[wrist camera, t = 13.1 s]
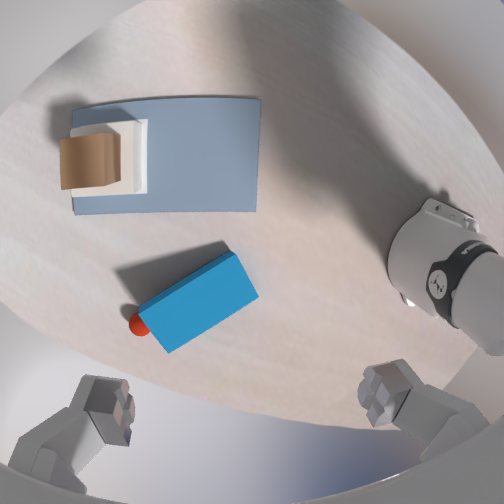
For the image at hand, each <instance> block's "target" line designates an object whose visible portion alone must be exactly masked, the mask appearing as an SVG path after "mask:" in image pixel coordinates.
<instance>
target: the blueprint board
mask: <svg viewBox="0 0 504 504" xmlns="http://www.w3.org/2000/svg"><path fill="white" fill-rule="evenodd" d="M260 106H261V100H260V99H243V98H173V99H156V100H143V101H132V102H123V103H115V104H107V105H101V106H94V107H88V108H82V109H77V110H73V114H72V129H73V128H79V127H85V126H92V125H99V124H107V123H116V122H125V121H136V122H139V123H142V124H143V130H142V189H141V190H139V191H137V192H136V193H134V194H114V195H98V196H83V197H73V202H74V214H75V215H93V214H117V213H150V212H256V201H257V178H258V154H259V130H260Z"/></svg>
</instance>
